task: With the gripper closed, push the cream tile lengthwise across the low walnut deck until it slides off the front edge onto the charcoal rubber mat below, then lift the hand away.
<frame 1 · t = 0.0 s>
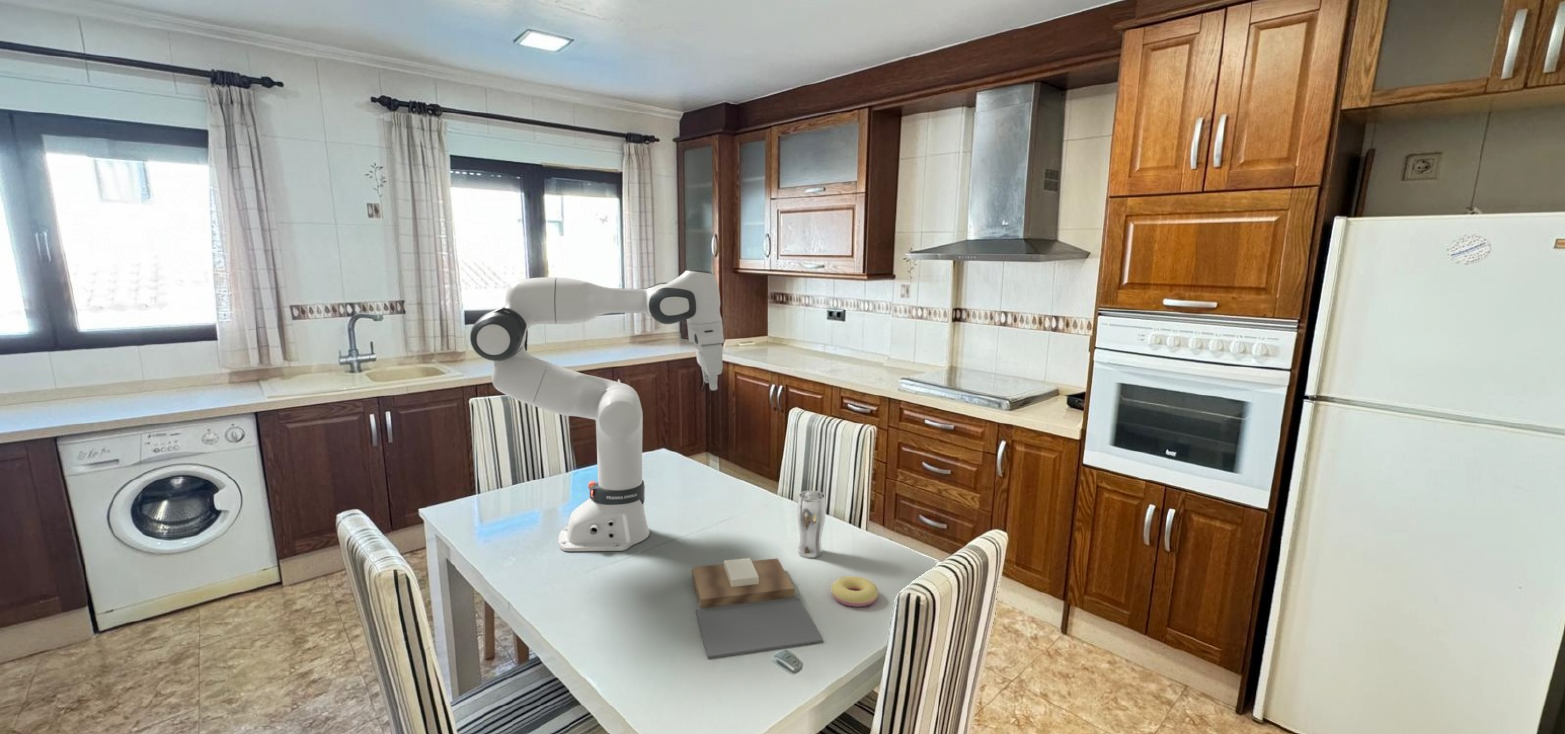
hand: (710, 386, 163), 39 cm above the table, tool pointing down, fingers open, 8 cm apart
donut: (854, 598, 137), on the table
beer glass: (810, 553, 157), on the table
mat: (756, 626, 125), on the table
tile: (740, 575, 140), point 2 cm above the table, touching deck
deck: (741, 588, 139), on the table
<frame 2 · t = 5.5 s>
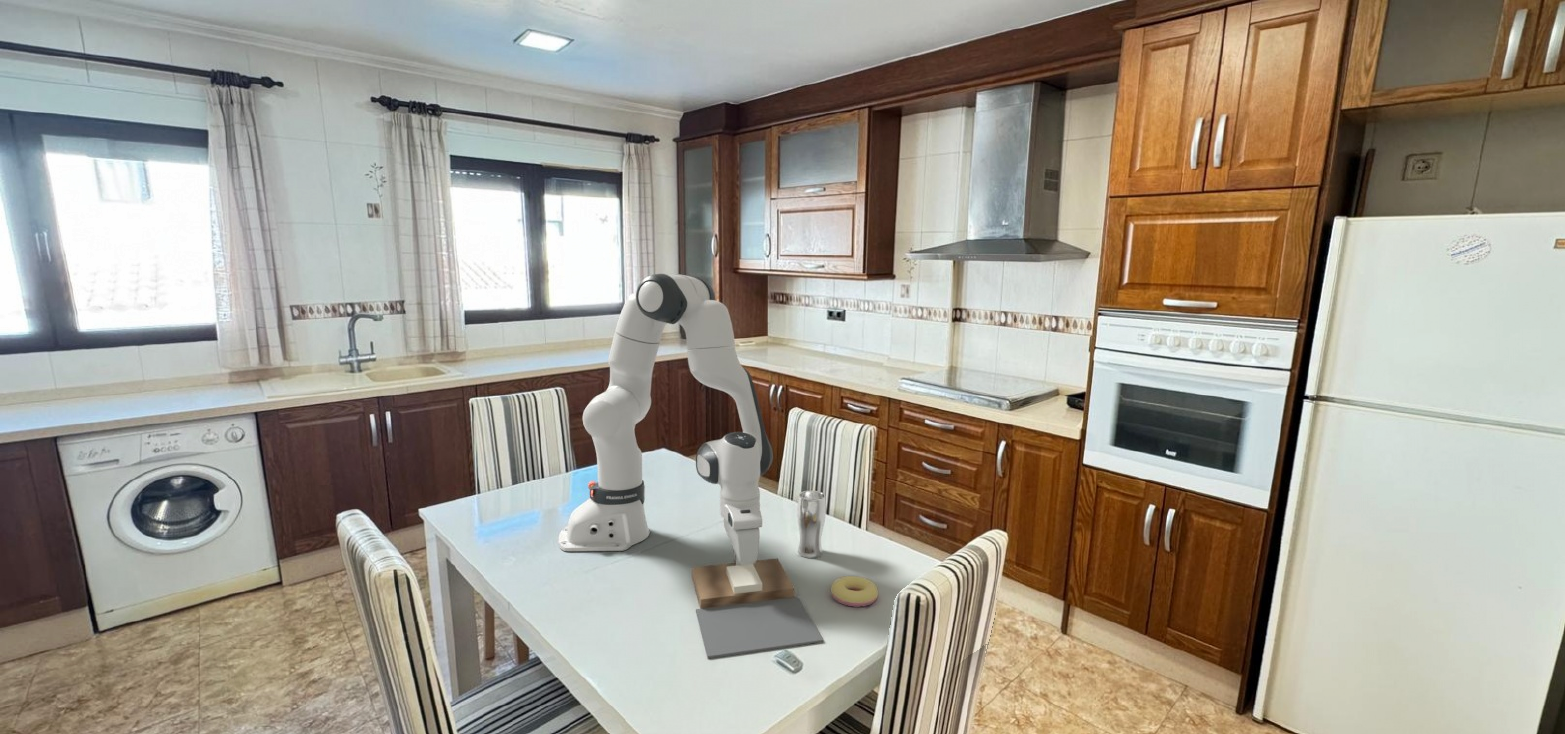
hand: (739, 564, 142), 4 cm above the table, tool pointing down, fingers closed
tile: (743, 581, 137), point 3 cm above the table, touching gripper
everything else where it was.
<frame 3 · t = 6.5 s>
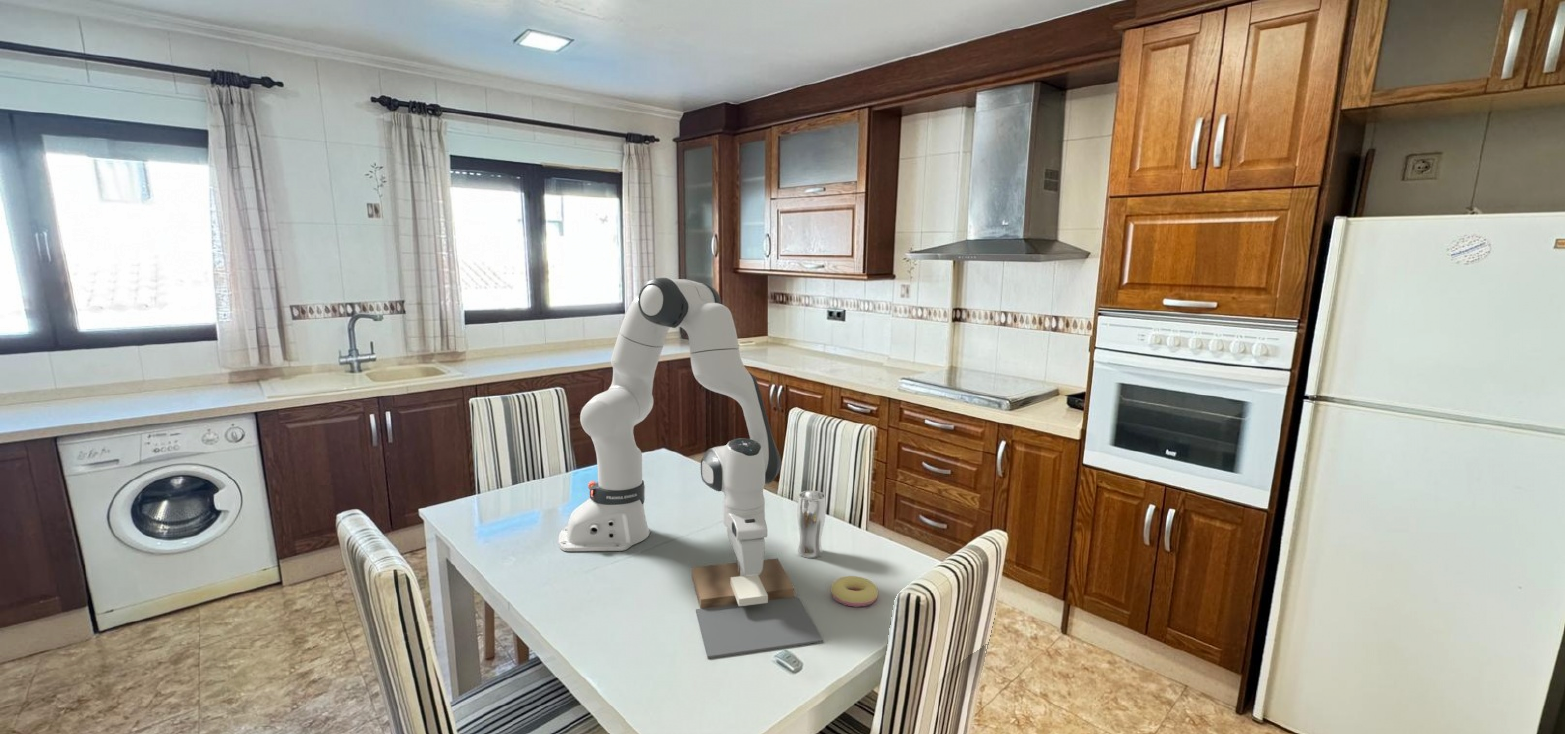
hand: (743, 574, 138), 3 cm above the table, tool pointing down, fingers closed
tile: (748, 593, 132), point 3 cm above the table, touching deck, gripper
everything else where it was.
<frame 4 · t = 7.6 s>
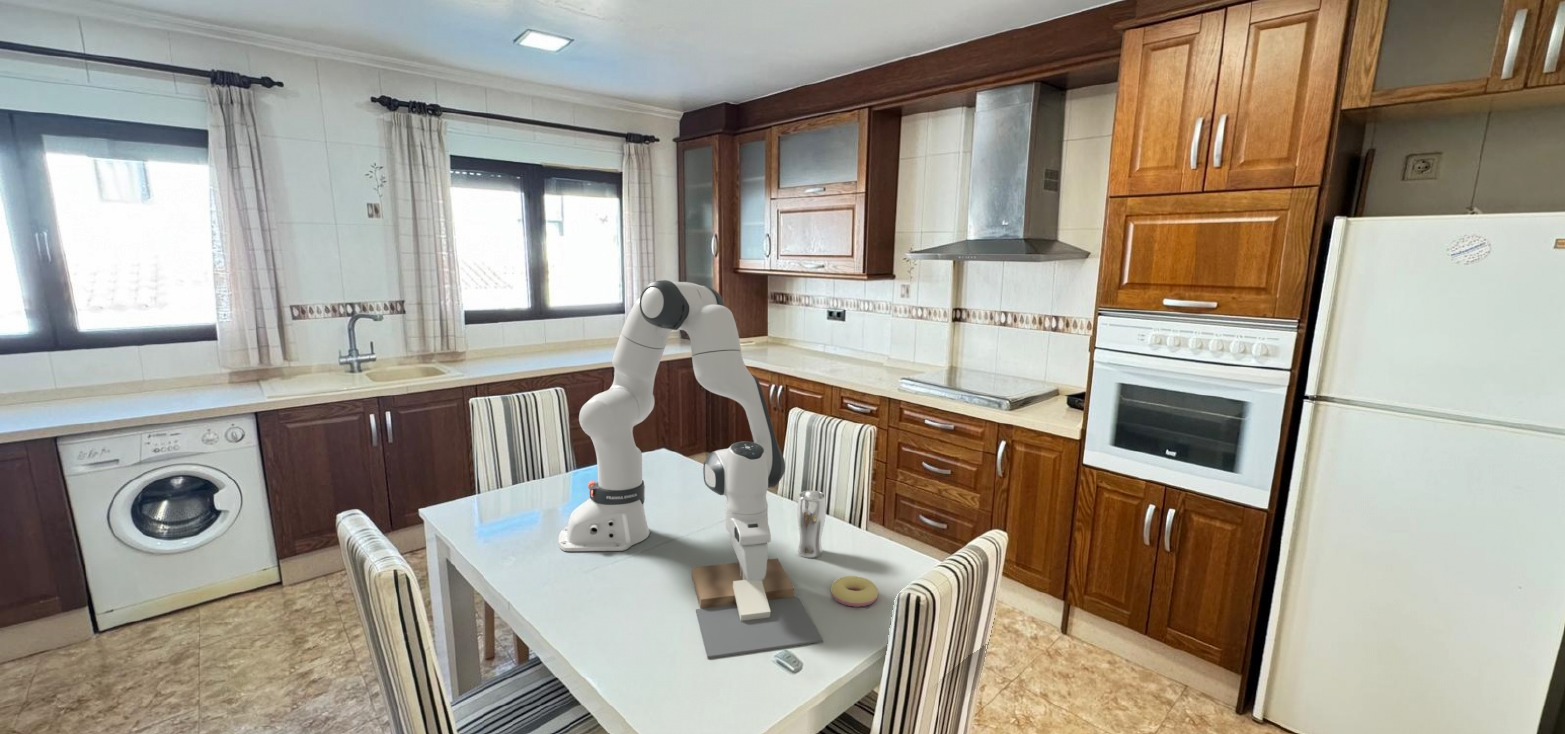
hand: (745, 580, 135), 4 cm above the table, tool pointing down, fingers closed
tile: (750, 601, 130), point 2 cm above the table, tilted 18°, touching deck, gripper, mat
everything else where it was.
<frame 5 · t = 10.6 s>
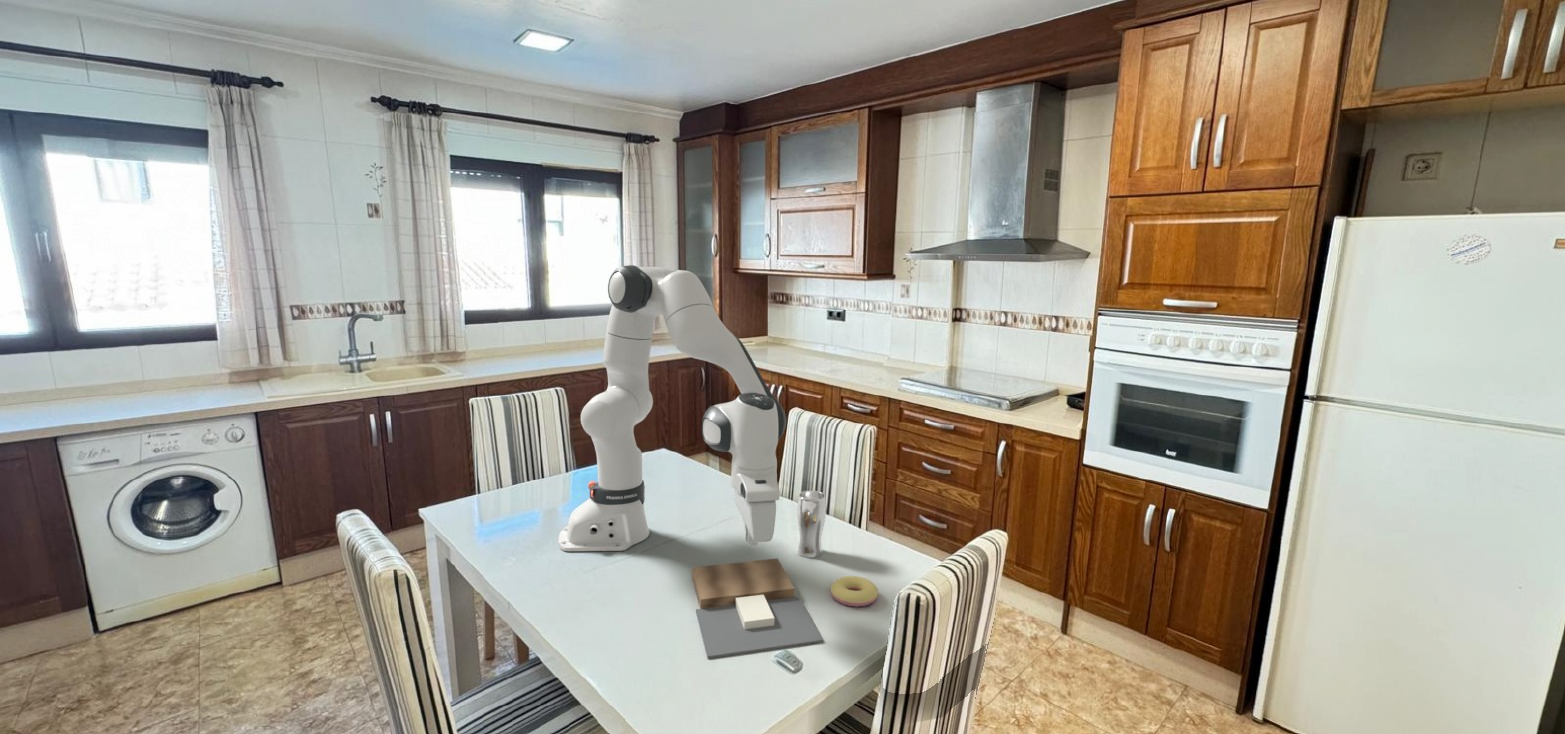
hand: (751, 542, 126), 16 cm above the table, tool pointing down, fingers closed
tile: (754, 614, 128), resting on mat
everything else where it was.
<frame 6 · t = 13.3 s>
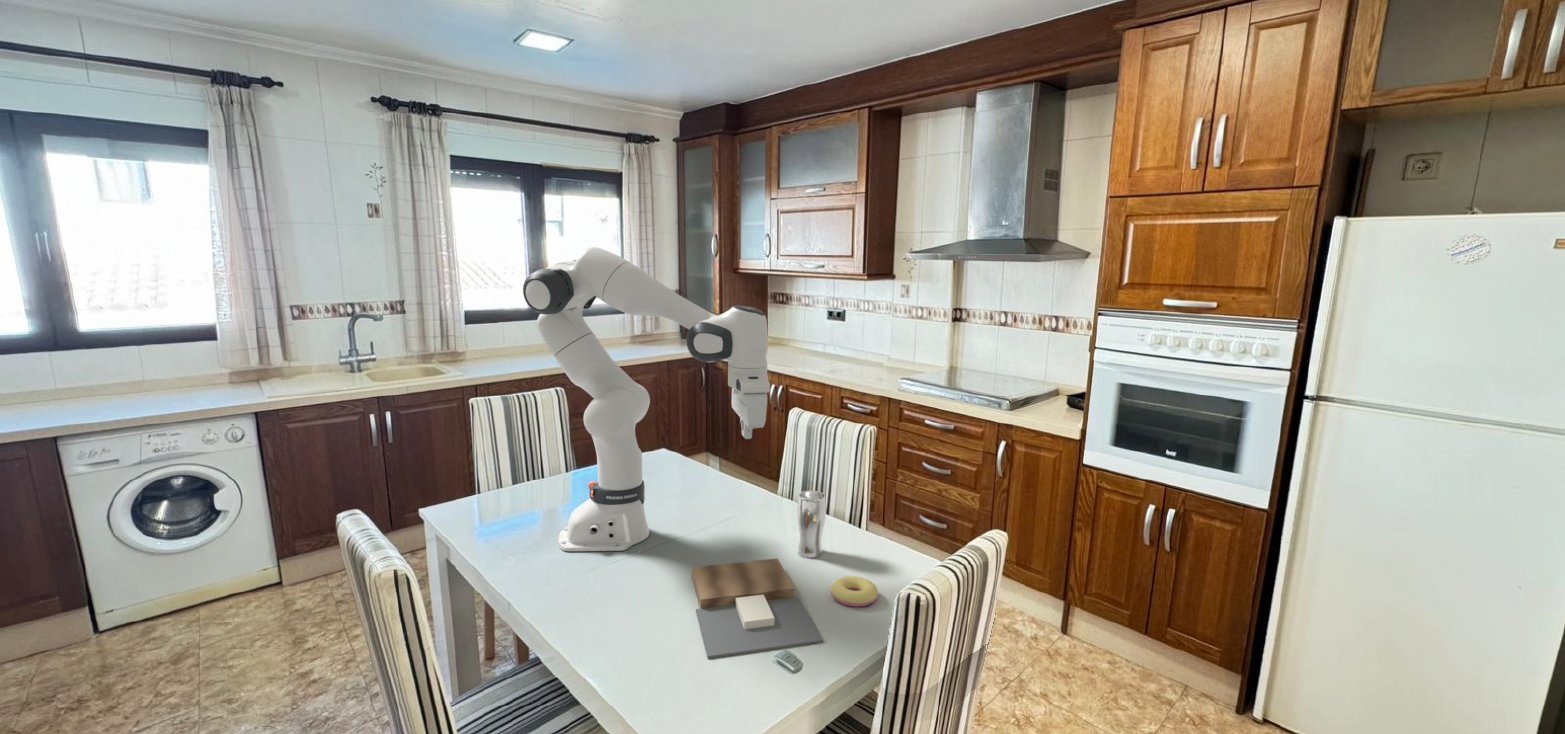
hand: (746, 437, 145), 31 cm above the table, tool pointing down, fingers closed
nothing on the table moved.
at the end: tile inside the target area on the mat (3.2 cm from its centre), point 0.5 cm above the mat's base; tile touching mat; tile moved 12.9 cm from its start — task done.
